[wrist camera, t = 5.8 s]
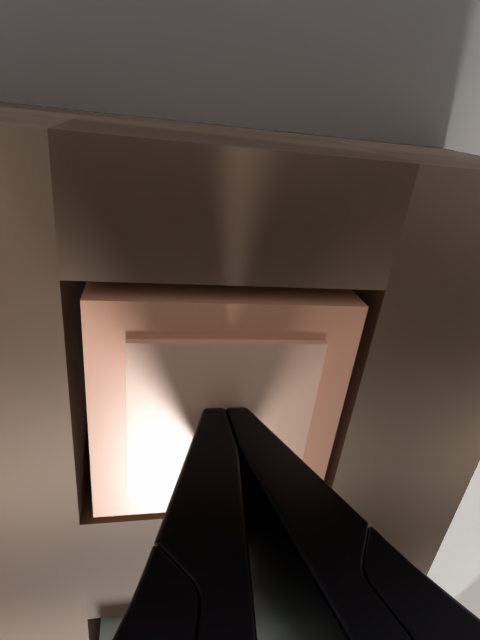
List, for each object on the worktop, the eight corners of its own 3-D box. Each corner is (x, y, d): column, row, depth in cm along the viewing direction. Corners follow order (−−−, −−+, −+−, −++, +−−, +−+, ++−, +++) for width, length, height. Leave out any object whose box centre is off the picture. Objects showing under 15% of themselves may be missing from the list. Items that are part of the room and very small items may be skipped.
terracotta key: (280, 406, 13) (320, 506, 10) (107, 411, 12) (92, 523, 9) (309, 246, 11) (372, 310, 8) (101, 236, 10) (78, 304, 7)
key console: (318, 581, 21) (362, 713, 16) (17, 614, 18) (-27, 783, 14) (444, 148, 12) (608, 182, 8) (-88, 93, 10) (-289, 96, 5)
